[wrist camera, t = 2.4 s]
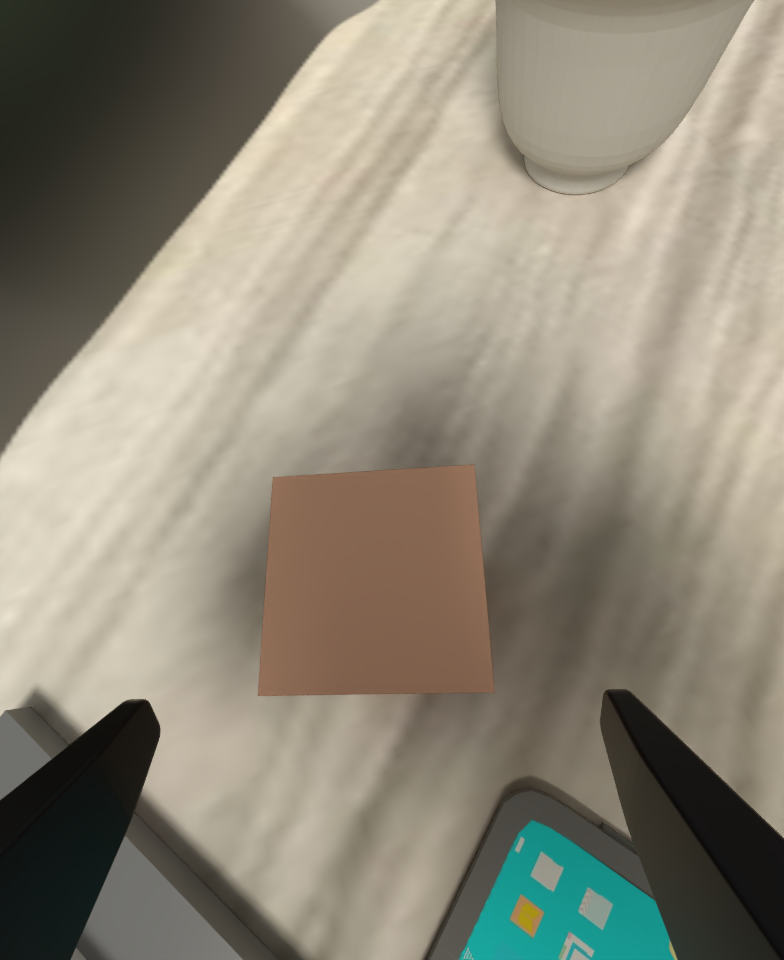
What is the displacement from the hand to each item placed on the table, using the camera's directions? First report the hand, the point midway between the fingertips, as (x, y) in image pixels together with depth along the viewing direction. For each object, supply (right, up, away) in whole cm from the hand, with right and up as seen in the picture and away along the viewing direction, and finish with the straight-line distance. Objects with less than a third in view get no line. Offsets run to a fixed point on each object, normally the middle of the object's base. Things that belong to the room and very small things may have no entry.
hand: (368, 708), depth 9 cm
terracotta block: (+1, -1, +10) cm, 10 cm away
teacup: (+12, +24, +18) cm, 32 cm away
